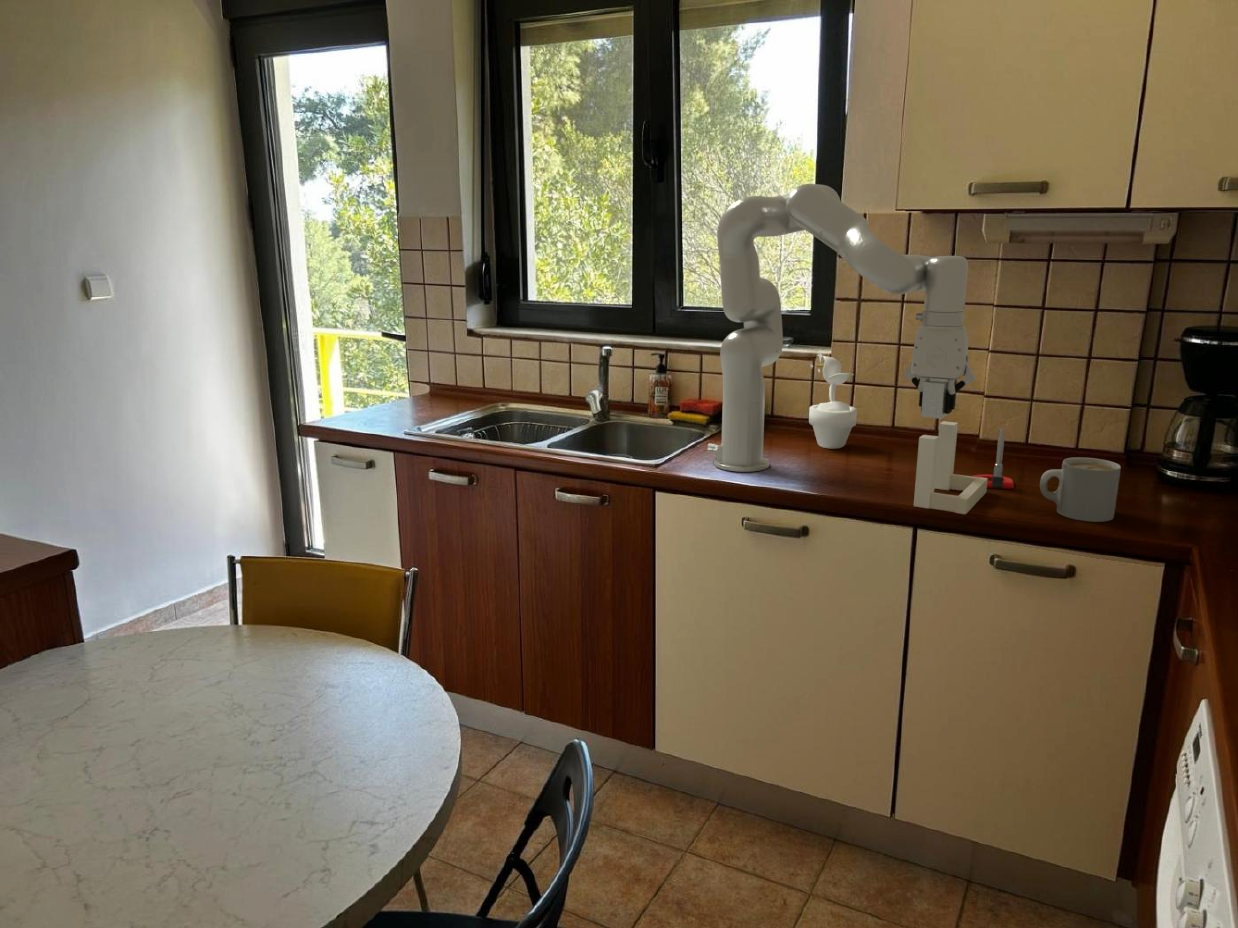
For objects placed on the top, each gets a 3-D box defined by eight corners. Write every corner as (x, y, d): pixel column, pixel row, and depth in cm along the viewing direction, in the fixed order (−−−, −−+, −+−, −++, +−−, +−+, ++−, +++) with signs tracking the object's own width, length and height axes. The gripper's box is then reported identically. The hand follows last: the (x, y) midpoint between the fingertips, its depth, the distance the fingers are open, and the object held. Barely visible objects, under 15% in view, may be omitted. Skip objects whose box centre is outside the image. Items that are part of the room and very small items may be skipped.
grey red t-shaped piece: (967, 478, 204) (976, 488, 195) (972, 421, 201) (982, 428, 192) (1006, 480, 202) (1018, 490, 193) (1012, 422, 200) (1024, 429, 191)
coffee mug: (1115, 510, 179) (1122, 461, 177) (1112, 524, 171) (1119, 473, 168) (1040, 500, 186) (1046, 452, 183) (1034, 513, 178) (1040, 463, 175)
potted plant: (799, 442, 235) (804, 345, 229) (841, 440, 238) (847, 343, 232) (821, 453, 223) (827, 351, 217) (865, 451, 226) (871, 350, 220)
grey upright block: (921, 416, 183) (923, 382, 181) (930, 410, 189) (933, 377, 187) (941, 418, 181) (944, 383, 179) (950, 412, 187) (953, 378, 185)
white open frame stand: (913, 506, 182) (919, 437, 179) (937, 484, 197) (943, 421, 193) (965, 514, 177) (972, 444, 174) (986, 492, 192) (993, 426, 188)
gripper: (895, 320, 182) (889, 410, 186) (983, 324, 173) (975, 419, 177) (906, 317, 188) (900, 404, 192) (992, 320, 179) (984, 412, 183)
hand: (936, 410), depth 185 cm, fingers closed on grey upright block, 4 cm apart
